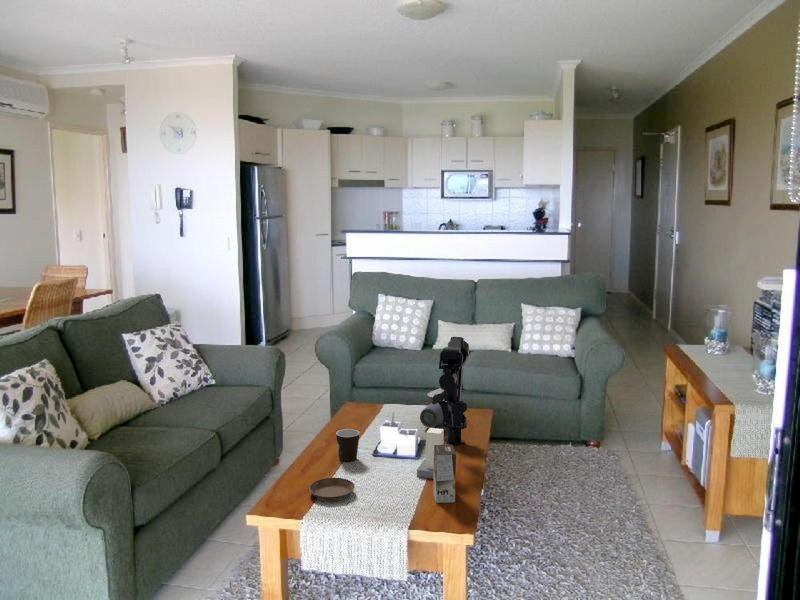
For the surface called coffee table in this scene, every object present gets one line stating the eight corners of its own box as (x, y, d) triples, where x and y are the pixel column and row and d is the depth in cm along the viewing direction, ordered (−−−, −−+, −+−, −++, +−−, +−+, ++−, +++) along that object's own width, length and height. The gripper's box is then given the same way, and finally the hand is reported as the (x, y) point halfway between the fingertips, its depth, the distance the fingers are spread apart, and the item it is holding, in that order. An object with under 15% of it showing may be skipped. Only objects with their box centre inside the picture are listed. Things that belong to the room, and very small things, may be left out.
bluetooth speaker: (439, 432, 283) (439, 408, 281) (418, 428, 287) (418, 405, 285) (458, 416, 303) (458, 395, 302) (438, 413, 307) (439, 392, 306)
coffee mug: (356, 464, 248) (356, 437, 246) (333, 462, 249) (333, 436, 248) (364, 452, 259) (364, 427, 257) (342, 451, 261) (342, 425, 259)
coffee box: (455, 502, 217) (456, 454, 215) (435, 503, 216) (436, 454, 214) (451, 490, 226) (452, 444, 224) (432, 491, 226) (433, 444, 223)
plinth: (424, 466, 246) (424, 459, 246) (451, 469, 244) (451, 462, 243) (416, 476, 237) (417, 469, 237) (445, 480, 234) (445, 473, 234)
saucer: (313, 506, 214) (313, 498, 213) (305, 487, 228) (305, 480, 227) (359, 501, 218) (359, 493, 218) (349, 482, 232) (349, 475, 232)
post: (429, 462, 243) (429, 427, 241) (443, 464, 242) (443, 429, 240) (425, 468, 238) (426, 432, 236) (439, 469, 237) (440, 433, 235)
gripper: (421, 377, 258) (420, 417, 260) (439, 390, 241) (438, 433, 243) (448, 375, 262) (447, 414, 264) (468, 388, 244) (467, 430, 246)
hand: (449, 423), depth 254 cm, fingers open, 9 cm apart
